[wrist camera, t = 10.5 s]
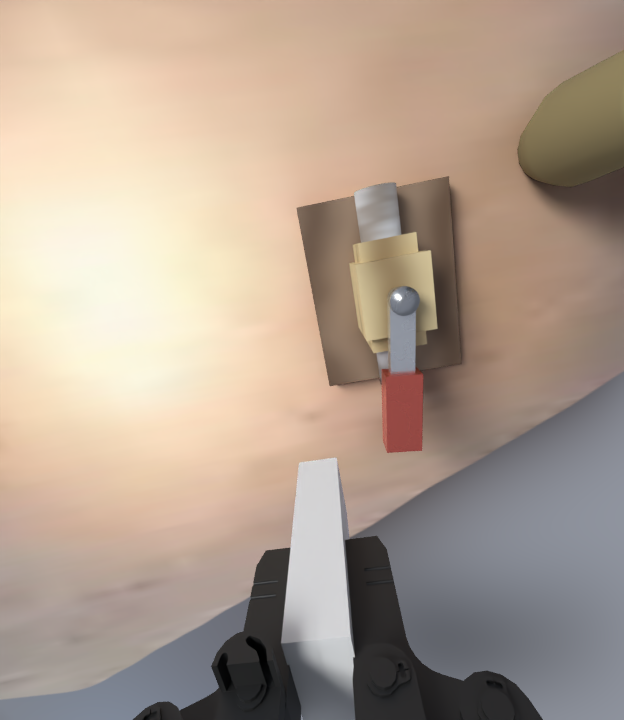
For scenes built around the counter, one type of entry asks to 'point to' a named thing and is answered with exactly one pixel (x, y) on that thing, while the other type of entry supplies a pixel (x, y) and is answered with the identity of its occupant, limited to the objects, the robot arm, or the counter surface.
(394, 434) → the lever
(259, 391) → the counter surface
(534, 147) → the squeeze bottle
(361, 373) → the valve board
